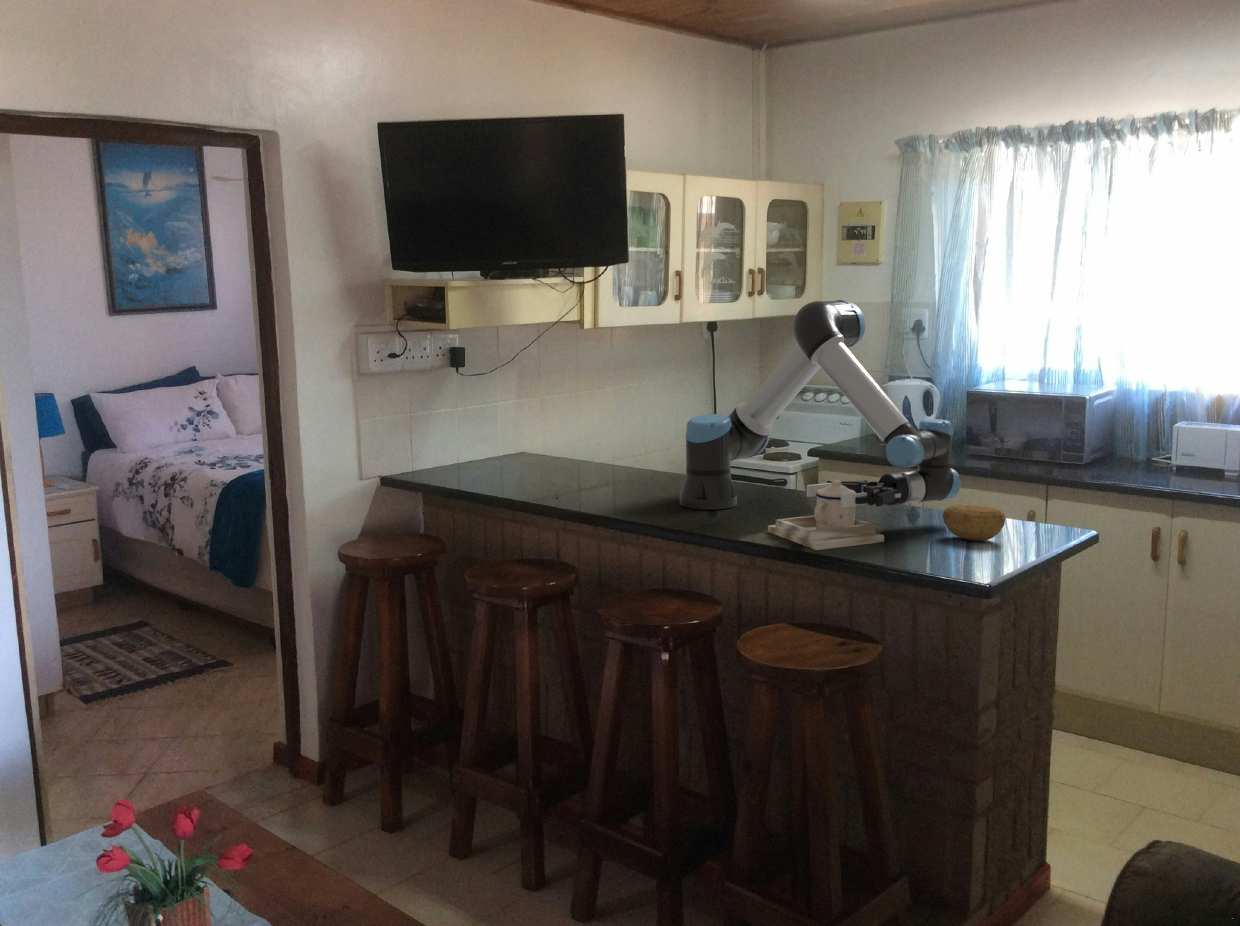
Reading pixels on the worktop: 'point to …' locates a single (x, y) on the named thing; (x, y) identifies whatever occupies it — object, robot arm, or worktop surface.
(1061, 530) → the worktop surface
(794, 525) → the cradle board
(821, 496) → the teacup with lid
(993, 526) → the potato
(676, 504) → the worktop surface
